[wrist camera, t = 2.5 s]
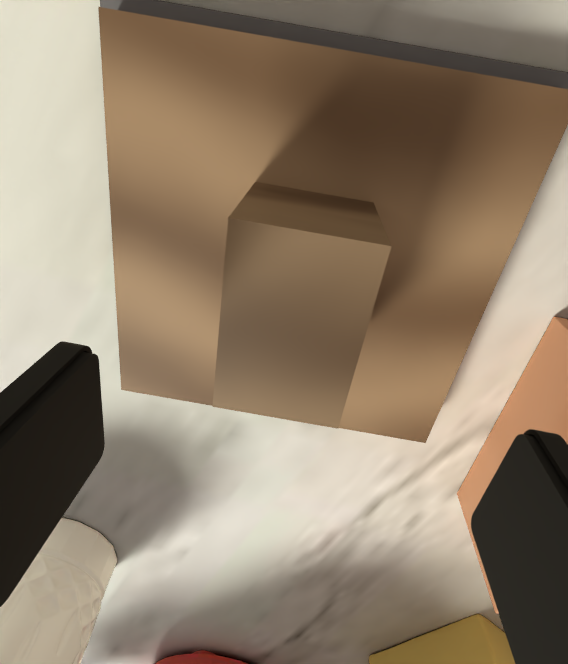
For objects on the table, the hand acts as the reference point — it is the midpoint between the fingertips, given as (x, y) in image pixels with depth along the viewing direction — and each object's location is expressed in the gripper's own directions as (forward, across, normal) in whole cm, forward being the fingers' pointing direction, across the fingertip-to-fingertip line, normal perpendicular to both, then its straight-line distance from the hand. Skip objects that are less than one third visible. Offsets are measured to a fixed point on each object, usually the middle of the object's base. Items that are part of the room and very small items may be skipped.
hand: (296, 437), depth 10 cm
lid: (+9, +1, -1) cm, 9 cm away
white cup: (+10, +13, +22) cm, 27 cm away
